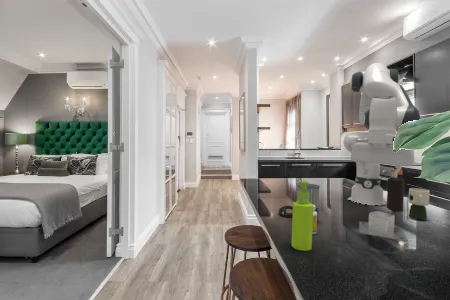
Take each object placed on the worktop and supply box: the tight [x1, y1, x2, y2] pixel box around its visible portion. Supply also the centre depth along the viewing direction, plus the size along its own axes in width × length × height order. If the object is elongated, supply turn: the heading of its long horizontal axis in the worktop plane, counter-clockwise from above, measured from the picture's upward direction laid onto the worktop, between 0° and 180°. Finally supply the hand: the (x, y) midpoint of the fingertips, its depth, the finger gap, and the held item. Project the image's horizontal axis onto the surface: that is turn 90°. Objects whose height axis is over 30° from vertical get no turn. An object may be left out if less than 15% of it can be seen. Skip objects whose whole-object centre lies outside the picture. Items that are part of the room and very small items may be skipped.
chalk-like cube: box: [368, 210, 396, 234], centre depth 90 cm, size 6×6×6 cm
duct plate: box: [358, 220, 409, 242], centre depth 90 cm, size 14×14×4 cm
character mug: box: [407, 187, 431, 221], centre depth 107 cm, size 11×7×13 cm, turn 149°
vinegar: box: [386, 168, 405, 212], centre depth 123 cm, size 7×7×20 cm
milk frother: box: [278, 182, 321, 224], centre depth 102 cm, size 14×16×15 cm
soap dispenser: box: [290, 179, 313, 252], centre depth 75 cm, size 6×7×20 cm
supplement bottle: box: [312, 205, 318, 235], centre depth 87 cm, size 5×5×10 cm
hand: (379, 175), depth 93 cm, fingers open, 8 cm apart
